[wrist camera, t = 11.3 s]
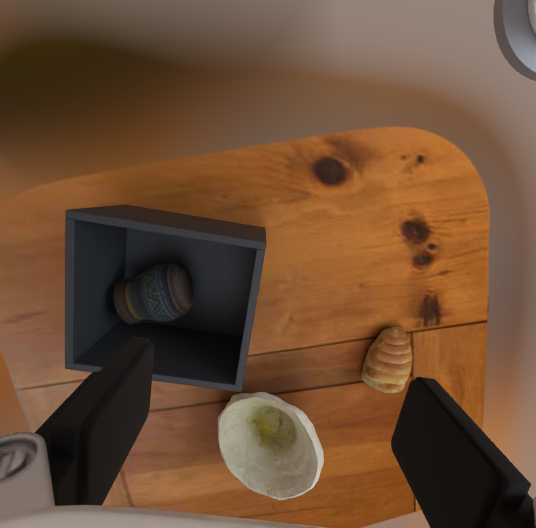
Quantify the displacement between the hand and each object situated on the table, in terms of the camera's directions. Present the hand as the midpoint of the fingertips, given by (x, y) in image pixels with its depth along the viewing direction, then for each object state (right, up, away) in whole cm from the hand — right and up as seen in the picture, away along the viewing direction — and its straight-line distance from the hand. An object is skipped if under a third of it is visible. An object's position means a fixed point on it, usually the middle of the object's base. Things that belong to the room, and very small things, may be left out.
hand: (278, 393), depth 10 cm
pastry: (+17, -9, +34) cm, 39 cm away
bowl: (-1, -18, +36) cm, 40 cm away
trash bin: (-11, +3, +30) cm, 32 cm away
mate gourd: (-10, +2, +26) cm, 28 cm away
